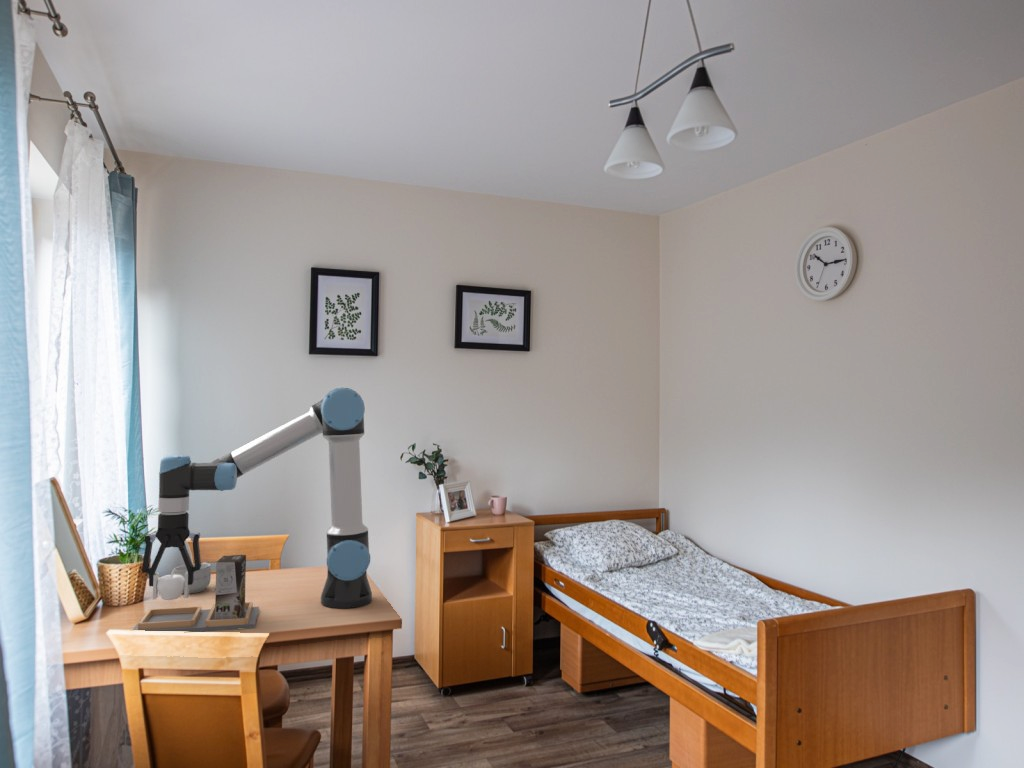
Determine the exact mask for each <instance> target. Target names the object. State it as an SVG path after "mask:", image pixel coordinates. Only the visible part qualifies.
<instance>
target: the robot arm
mask: <svg viewBox="0 0 1024 768" xmlns="http://www.w3.org/2000/svg"><path fill="white" fill-rule="evenodd" d="M364 402H365V401H364V400H363V398H362V397H361V395H360V394H359V393H358V392H357V391H356V390H354V389H352V388H348V387H337V388H334V389H331V390H330V391H329V392H327V393H326V395H324V397H323V398H322V399H321V400H320V401H318V402H317V403H316V402H315V403H314V404H312V405H311V406H310V407H309V410H308V411H306V412H304V413H303V414H301V415H298V416H297V417H295V418H293V419H291V420H289V421H288V422H286V423H284V424H282V425H280V426H278V427H276V428H274V429H271V430H270V431H268V432H266V433H264V434H263V435H261V436H259V437H257V438H256V439H253V440H252V441H250V442H248V443H246V444H244V445H242V446H240V447H238V448H236V449H234V450H232V451H231V452H229V453H226V454H224V455H223V456H221V457H219V458H217V459H215V460H212V462H192V460H191V457H190V456H189V455H185V454H183V455H181V454H174V455H173V454H171V455H164V456H163V457H161V459H160V465H159V472H158V475H159V476H158V480H159V481H158V482H159V483H158V485H159V487H158V490H159V491H158V512H159V514H158V515H157V530H156V532H155V533H152V534H150V533H148V534H147V535H145V536H144V541H145V548H144V555H143V561H142V566H141V572H142V573H146V574H148V586H149V587H152V600H157V598H159V592H158V590H157V582H158V580H159V576H160V575H159V574H160V573H159V572H156V571H157V568H158V567H159V565H160V562H161V560H162V557H163V555H164V553H165V550H166V549H168V548H171V547H172V548H178V550H179V552H180V555H181V557H182V560H183V563H184V565H186V568H187V570H188V572H186V573H185V589H184V593H183V594H184V595H183V597H184V599H187V598H189V595H190V593H189V585H192V584H193V580H194V572H195V571H198V570H199V569H200V568H201V563H202V562H201V561H202V559H201V551H200V538H201V533H200V532H196V533H195V532H191V531H190V528H189V520H190V519H189V518H190V517H189V516H190V514H189V513H188V511H189V510H190V506H189V505H190V491H221V492H222V491H223V492H224V491H231V490H234V489H235V488H236V487H237V486H236V485H237V481H238V478H240V477H242V476H243V475H245V474H246V473H248V472H251V471H252V470H254V469H256V468H258V467H261V466H262V465H264V464H265V463H267V462H270V461H271V460H273V459H275V458H277V457H279V456H281V455H283V454H285V453H286V452H288V451H290V450H292V449H294V448H296V447H298V446H299V445H301V444H304V443H305V442H307V441H308V440H311V439H313V438H315V437H316V436H319V435H321V434H322V437H323V438H324V440H326V441H327V442H328V459H329V460H328V461H329V462H328V463H329V486H330V487H329V488H330V512H331V514H330V516H331V526H330V527H329V528H328V530H327V531H326V553H327V554H326V555H327V557H326V567H327V575H326V577H327V578H326V580H325V583H324V586H323V589H322V592H321V596H320V603H321V605H322V606H324V607H329V608H332V609H333V608H334V609H349V608H350V609H351V607H352V609H353V608H359V607H363V606H366V605H368V604H370V603H371V602H372V601H373V592H372V588H371V586H370V581H369V579H368V575H367V570H368V568H369V566H370V564H371V554H370V548H369V547H370V546H369V545H370V544H369V542H370V541H369V528H368V527H367V526H366V525H365V524H364V523H363V504H362V482H361V481H362V478H361V477H362V476H361V473H362V472H361V451H360V440H361V438H363V436H364V435H365V418H364V417H365V403H364ZM188 538H190V541H191V542H192V551H193V561H194V563H195V566H193V562H192V559H191V557H190V554H189V552H188V549H187V546H186V542H185V541H187V539H188ZM156 539H157V540H158V542H159V543H160V546H159V548H158V550H157V553H156V556H155V557H154V560H153V562H152V565H151V567H150V564H151V563H150V562H151V561H150V560H151V556H152V550H153V543H154V542H155V540H156Z"/></svg>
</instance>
